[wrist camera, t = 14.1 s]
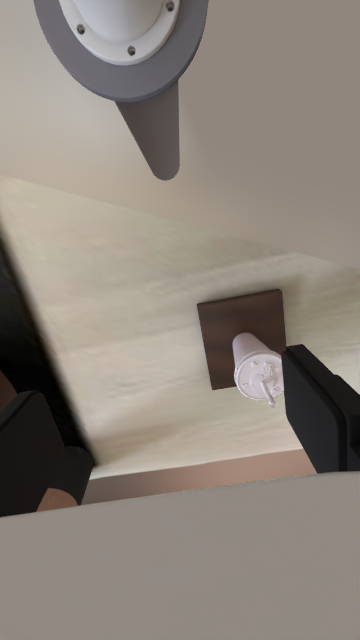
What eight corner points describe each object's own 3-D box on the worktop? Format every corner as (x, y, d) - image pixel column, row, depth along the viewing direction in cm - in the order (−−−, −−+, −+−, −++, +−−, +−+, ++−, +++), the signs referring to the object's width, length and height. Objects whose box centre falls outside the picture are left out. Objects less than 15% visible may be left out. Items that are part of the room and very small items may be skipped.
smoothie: (218, 359, 42) (236, 421, 29) (229, 320, 40) (253, 367, 27) (259, 366, 42) (295, 431, 29) (272, 328, 40) (316, 378, 27)
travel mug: (79, 483, 52) (21, 630, 33) (44, 462, 50) (-37, 604, 32) (103, 459, 50) (57, 601, 31) (68, 437, 49) (-3, 571, 30)
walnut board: (196, 304, 41) (197, 306, 39) (278, 288, 40) (282, 291, 39) (211, 385, 45) (212, 390, 44) (285, 372, 44) (288, 377, 43)
